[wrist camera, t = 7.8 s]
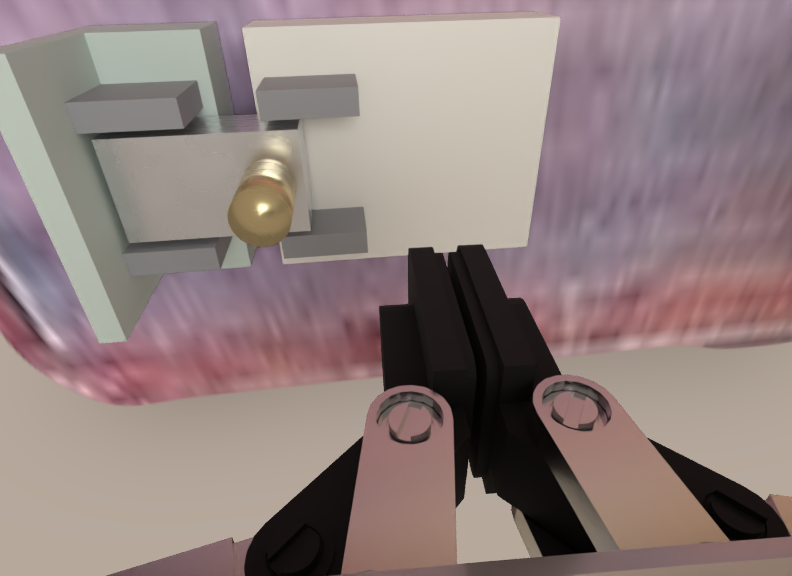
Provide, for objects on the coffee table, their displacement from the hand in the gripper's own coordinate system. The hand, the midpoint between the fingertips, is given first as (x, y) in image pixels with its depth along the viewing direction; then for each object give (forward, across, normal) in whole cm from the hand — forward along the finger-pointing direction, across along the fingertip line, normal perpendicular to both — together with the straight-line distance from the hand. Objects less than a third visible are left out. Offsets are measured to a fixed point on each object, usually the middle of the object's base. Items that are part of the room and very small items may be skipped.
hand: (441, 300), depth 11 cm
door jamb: (+14, +10, 0) cm, 17 cm away
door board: (+14, 0, 0) cm, 14 cm away
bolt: (+11, +8, 0) cm, 13 cm away
